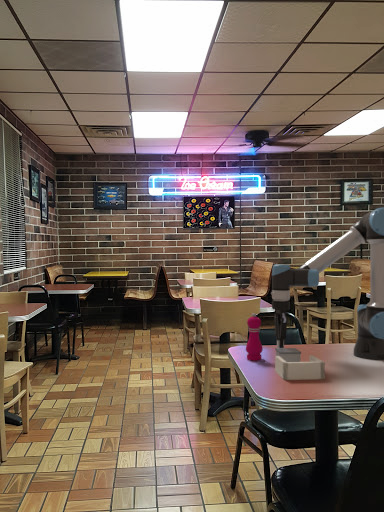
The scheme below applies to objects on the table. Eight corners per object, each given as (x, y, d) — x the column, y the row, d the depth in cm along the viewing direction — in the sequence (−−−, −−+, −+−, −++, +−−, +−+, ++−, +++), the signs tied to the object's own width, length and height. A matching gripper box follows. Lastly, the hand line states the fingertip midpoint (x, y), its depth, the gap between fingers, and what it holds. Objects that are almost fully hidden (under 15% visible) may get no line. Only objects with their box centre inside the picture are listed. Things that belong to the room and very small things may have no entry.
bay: (313, 370, 164) (313, 355, 164) (324, 379, 153) (324, 362, 153) (275, 371, 163) (275, 356, 163) (284, 380, 152) (284, 363, 152)
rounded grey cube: (295, 363, 176) (295, 348, 176) (301, 368, 168) (301, 351, 168) (275, 364, 175) (275, 348, 175) (280, 368, 168) (280, 352, 168)
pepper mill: (262, 361, 180) (262, 314, 180) (245, 360, 181) (245, 313, 181) (262, 357, 187) (262, 312, 187) (246, 356, 188) (246, 311, 188)
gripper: (268, 298, 188) (267, 351, 188) (276, 301, 175) (276, 358, 175) (284, 298, 189) (284, 351, 188) (294, 301, 176) (293, 358, 175)
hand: (280, 354), depth 182 cm, fingers closed
